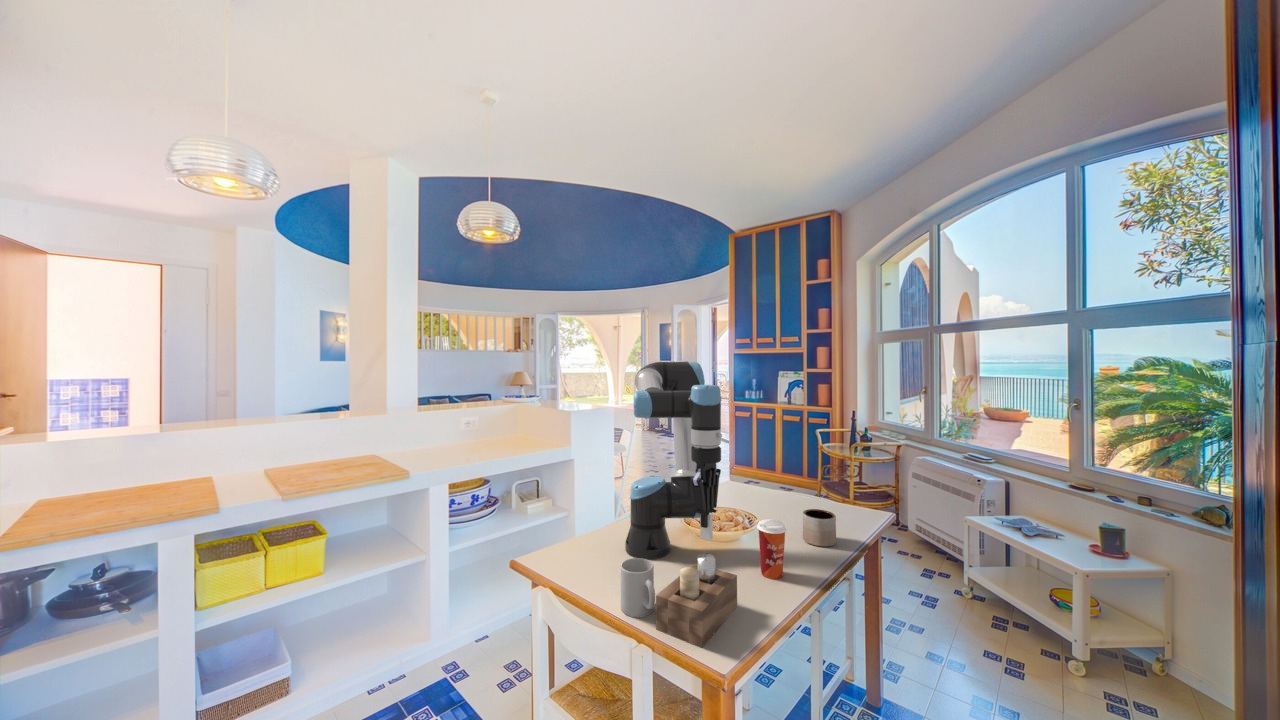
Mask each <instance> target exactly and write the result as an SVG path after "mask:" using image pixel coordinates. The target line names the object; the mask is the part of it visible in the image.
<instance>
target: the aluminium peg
mask: <svg viewBox="0 0 1280 720" xmlns="http://www.w3.org/2000/svg"><path fill="white" fill-rule="evenodd" d="M696 558H697V561H696V562H697V563H696V564H697V570H698V571H699V581H700V582H704V583H707V584H710V585H712V584H713V583H714V582H715V569H716V557H715V556H714V555H713V554H709V553H702V554H698V555H697V557H696Z"/></svg>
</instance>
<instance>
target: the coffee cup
mask: <svg viewBox="0 0 1280 720" xmlns="http://www.w3.org/2000/svg"><path fill="white" fill-rule="evenodd" d="M756 528H757V530H758V540H759V543H758V544H759V556H760V557H759V558H760V573H761V576H763V578H764V577H765V578H766V579H770V580H779V579H781V578H783V572H784V562H785V561H784V559H785V556H784V555H785V543H786V542H785V541H786V540H785V539H786V532H787V528H786V526H785V523H783V522H782V521H780V520H776V519H770V518H767V519H766V518H765V519H762V520H760V521H759V522H758V524H757V526H756Z"/></svg>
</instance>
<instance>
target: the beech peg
mask: <svg viewBox="0 0 1280 720" xmlns="http://www.w3.org/2000/svg"><path fill="white" fill-rule="evenodd" d="M679 576H680V597H683V598H686V599H689V600H692V601H696V600H697V599H698V598H699V571H698V570H697V569H696V568H692V567H691V566H690V567H689V566H686V567H683V568H681V569H680V570H679Z"/></svg>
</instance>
